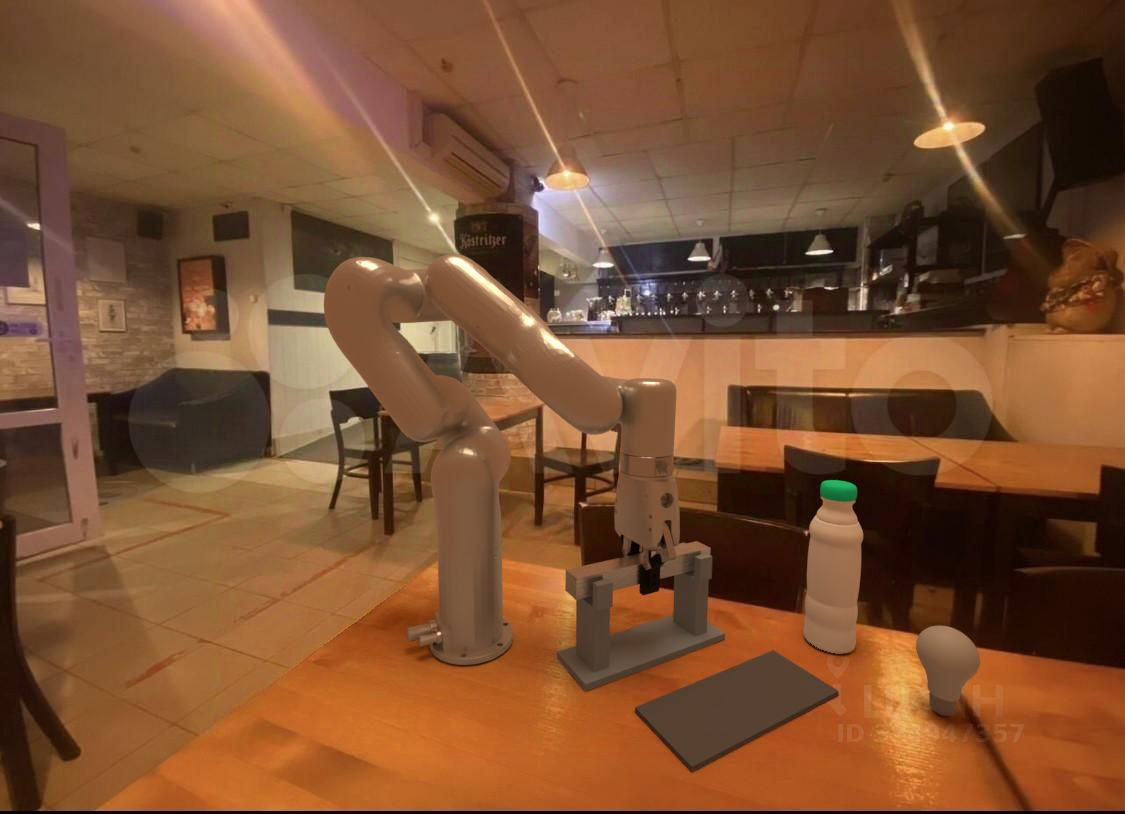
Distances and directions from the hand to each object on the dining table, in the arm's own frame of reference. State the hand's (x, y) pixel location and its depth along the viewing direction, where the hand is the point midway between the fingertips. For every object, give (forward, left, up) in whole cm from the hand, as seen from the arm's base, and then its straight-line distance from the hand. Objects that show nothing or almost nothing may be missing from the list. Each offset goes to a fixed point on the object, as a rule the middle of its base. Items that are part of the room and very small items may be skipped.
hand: (641, 585), depth 73 cm
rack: (0, 0, -10) cm, 10 cm away
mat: (+4, -15, -10) cm, 19 cm away
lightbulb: (+24, -28, -10) cm, 39 cm away
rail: (0, 0, +1) cm, 1 cm away
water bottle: (+26, -12, -10) cm, 31 cm away
